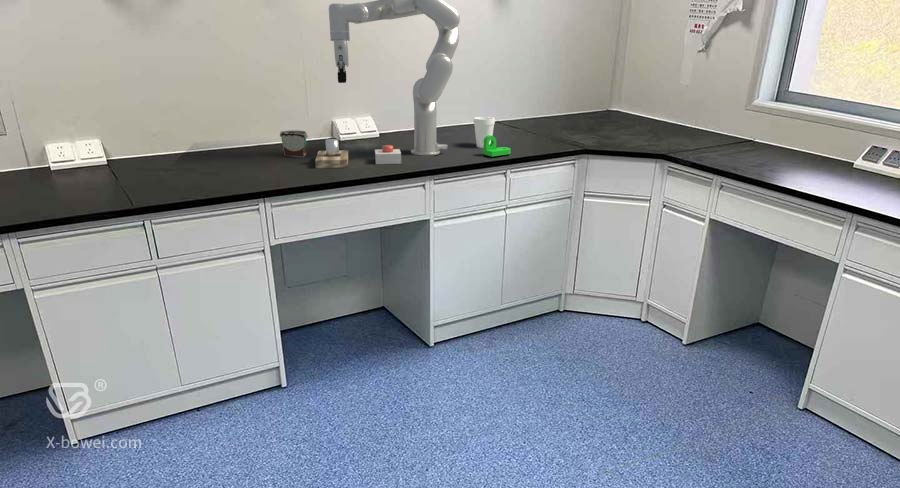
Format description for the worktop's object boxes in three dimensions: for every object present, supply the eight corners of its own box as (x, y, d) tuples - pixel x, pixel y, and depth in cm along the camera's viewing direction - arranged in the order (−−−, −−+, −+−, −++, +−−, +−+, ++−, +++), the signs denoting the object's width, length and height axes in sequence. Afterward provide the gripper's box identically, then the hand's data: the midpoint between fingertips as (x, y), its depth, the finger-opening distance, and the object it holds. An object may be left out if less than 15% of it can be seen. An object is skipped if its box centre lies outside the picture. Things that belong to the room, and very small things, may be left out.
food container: (314, 155, 255) (313, 131, 251) (307, 157, 249) (305, 133, 246) (289, 153, 258) (287, 129, 255) (281, 155, 253) (279, 131, 250)
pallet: (348, 157, 250) (348, 150, 249) (347, 167, 231) (347, 159, 230) (318, 158, 248) (318, 150, 247) (315, 168, 230) (315, 160, 229)
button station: (399, 158, 248) (399, 149, 247) (401, 163, 239) (401, 153, 238) (375, 159, 247) (374, 149, 246) (376, 164, 238) (375, 154, 236)
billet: (340, 158, 242) (339, 138, 239) (338, 161, 237) (337, 141, 234) (327, 158, 242) (326, 138, 239) (325, 161, 237) (324, 141, 234)
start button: (392, 149, 244) (392, 145, 243) (393, 151, 240) (393, 147, 239) (382, 150, 243) (381, 145, 243) (382, 152, 239) (382, 147, 239)
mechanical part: (492, 156, 256) (492, 137, 253) (483, 154, 260) (483, 135, 258) (513, 153, 262) (514, 135, 260) (504, 151, 267) (504, 133, 264)
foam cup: (483, 149, 269) (483, 120, 265) (469, 146, 276) (469, 118, 272) (498, 147, 275) (499, 118, 271) (483, 144, 282) (484, 116, 278)
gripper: (349, 37, 230) (351, 83, 236) (349, 37, 247) (351, 80, 252) (329, 37, 229) (332, 83, 235) (331, 36, 245) (333, 80, 251)
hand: (342, 81), depth 244 cm, fingers open, 9 cm apart
